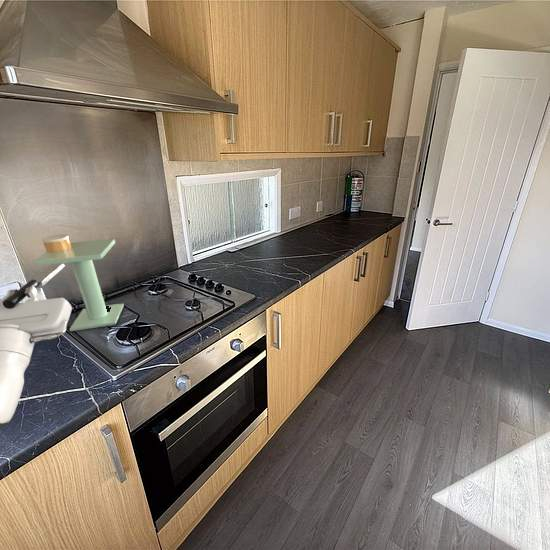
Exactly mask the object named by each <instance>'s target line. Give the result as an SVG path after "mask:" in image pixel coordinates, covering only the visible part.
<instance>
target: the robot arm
mask: <svg viewBox="0 0 550 550" xmlns="http://www.w3.org/2000/svg"><path fill="white" fill-rule="evenodd" d="M37 289H38V288H35V287H30V288H26V289H25V290H26V291H25V293H24V294H25V295H27V297H28V298H31V299H28V300H27V302H23V303H22V302H19V303H17V305H16V306H15V307H13V308H11V309H8V308H5V307H4V306H3V302H4V301H5V300H6V299H7V298H9V297H10V296H11V295H13V294H14V293H15V292H16V291H18V290H19V289H17V288H16V289H14V288H13V289H8V290H7V293H6V295H4V296H3V297H2V298H1V299H0V430H1V429H3V428H4V427H5V426H6V425H8V424H9V422H10V421H11V420H12V418H13V417H14V414H15V412H16V410H17V407H18V406H19V405H18V404H19V402H20V399H21V395H22V392H23V388H24V385H25V373H26V372H25V371H26V370H27V368H28V366H29V365H30V362H31V359H32V354H33V351H34V346H35V343H39V342H44V341H53V340H57V339H58V338H59V337H61V336H62V335H63V334H65V333H66V331H67V328H68V322H69V320H70V316H71V314H72V310H73V306H72V305H71V304H70V302H69V301H68V300H67V299H65V298H64V297H56V298H54V297H53V298H46V300H38V298H37V297H36V295H37Z"/></svg>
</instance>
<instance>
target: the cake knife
mask: <svg viewBox="0 0 550 550" xmlns="http://www.w3.org/2000/svg"><path fill="white" fill-rule="evenodd" d="M65 267H66V265H65V263H55V264H49V265H48V266H46V268H45V269H43V270H42V271H40V273H38V274H37V275H36V276H34V277H33V278H32V279H30V280H29V281H28V282H26V283H25V284H24V285H22V286H21V287H20V288H19V289H17V290H18V291H16V292H15V293H14V294H13V295H11V296H10V297H9V298H7V299H6V300H5V301H4V302H3V306H4V307H5V308H8V309H11V308H13V307H15V306H16V305H17V303H21V302H22V301H21V300H23V299H24V298H25V297H26V296H27V295H25V294H24V293H25V291H26V290H25V289H26V288H30V287H35V288H36V289H38V288H41V287H43V286H45V285H46V284H47V283H49V281H50V280H52V279H53V278H55V276H56V275H57V274H58V273H59V272H61V271H62V270H63V269H64V268H65Z"/></svg>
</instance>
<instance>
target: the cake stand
mask: <svg viewBox="0 0 550 550" xmlns="http://www.w3.org/2000/svg"><path fill="white" fill-rule="evenodd" d="M41 240H42V243H43V246H44V249H45V252H44V253H43V254H41V255H40V256H37V258H36V259H34V260H32V264H33V265H34V267H37V266H38V267H39V266H47V265H48V266H50V265H51V264H55V263H64V264H67V263H70V265H71V269H72V271H73V274H74V277H75V280H76V284H77V286H78V290H79V292H80V296H81V298H82V302H83V305H84V308H82V310H81V312H80V313H79V314H78V316H77V317H76V319H75V320H74V322H73V323H72V325H70V327H69V332H76V331H82V330H90V329H95V328H102V327H109V326H115V325H117V324H118V323H117V322H118V320H119V318H120V317H121V314H122V311H123V309H124V306H125V304H124V303H115V304H109V305H108V306H109V308H110V307H111V309H110V312H107V309H106V306H107V305H106V302H105V299H104V296H103V292H102V289H101V285H100V282H99V278H98V275H97V272H96V267H95V264H94V261H95V260H96V261H97V260H102V259H103V258H104V257H105V256H106V255H107V253H108V252H109V251H110V250H111V249H112V248H113V246H114V245H115V244H116V240H115V238H110V239H109V238H108V239H99V240H98V239H97V240H88V241H86V240H85V241H77V242H75V241H74V242H71V239H70V236H69V234H62V233H60V234H54V235H53V234H52V235H48V236H45V237H43V238H42V239H41Z"/></svg>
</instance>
